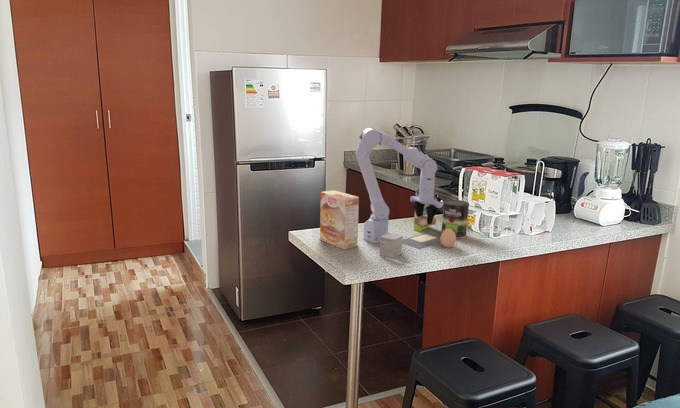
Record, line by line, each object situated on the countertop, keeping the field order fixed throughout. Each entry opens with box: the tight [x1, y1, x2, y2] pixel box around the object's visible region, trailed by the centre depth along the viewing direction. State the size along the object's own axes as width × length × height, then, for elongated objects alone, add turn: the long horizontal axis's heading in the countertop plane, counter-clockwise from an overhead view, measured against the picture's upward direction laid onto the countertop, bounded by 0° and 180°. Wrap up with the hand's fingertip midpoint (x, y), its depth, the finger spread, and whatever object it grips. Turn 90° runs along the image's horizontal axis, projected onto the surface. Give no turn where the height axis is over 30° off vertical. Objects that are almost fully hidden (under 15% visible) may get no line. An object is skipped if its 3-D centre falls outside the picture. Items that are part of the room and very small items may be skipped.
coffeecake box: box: [319, 189, 360, 250], centre depth 198 cm, size 15×7×20 cm, turn 40°
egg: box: [439, 228, 457, 248], centre depth 197 cm, size 6×6×8 cm
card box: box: [413, 215, 437, 228], centre depth 206 cm, size 4×8×3 cm, turn 131°
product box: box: [379, 232, 404, 260], centre depth 188 cm, size 6×6×7 cm
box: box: [413, 189, 430, 232], centre depth 221 cm, size 10×4×17 cm, turn 154°
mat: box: [402, 233, 441, 250], centre depth 204 cm, size 18×12×1 cm, turn 131°
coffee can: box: [440, 199, 470, 239], centre depth 213 cm, size 10×10×14 cm
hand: (424, 222), depth 206 cm, fingers closed on card box, 4 cm apart
